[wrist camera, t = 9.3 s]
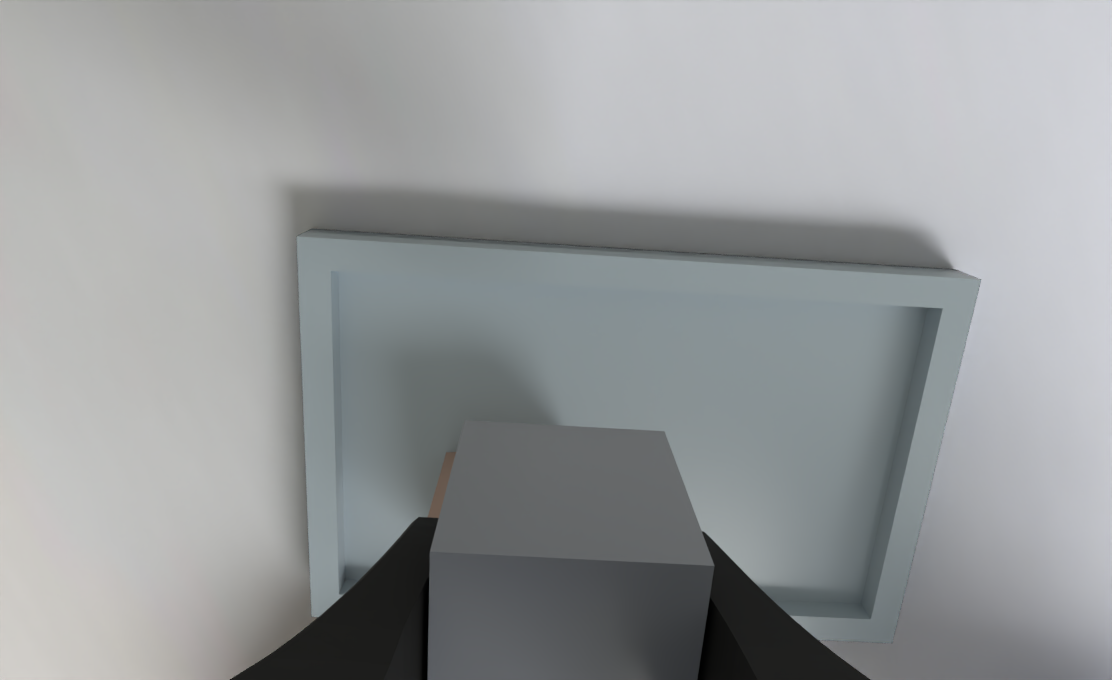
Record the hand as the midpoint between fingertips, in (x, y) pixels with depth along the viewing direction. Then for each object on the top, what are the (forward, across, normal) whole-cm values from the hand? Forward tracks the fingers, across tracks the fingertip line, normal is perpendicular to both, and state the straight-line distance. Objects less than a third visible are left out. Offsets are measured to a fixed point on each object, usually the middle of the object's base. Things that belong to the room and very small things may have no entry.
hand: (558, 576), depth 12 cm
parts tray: (+9, -2, +2) cm, 9 cm away
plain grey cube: (+1, 0, 0) cm, 1 cm away
